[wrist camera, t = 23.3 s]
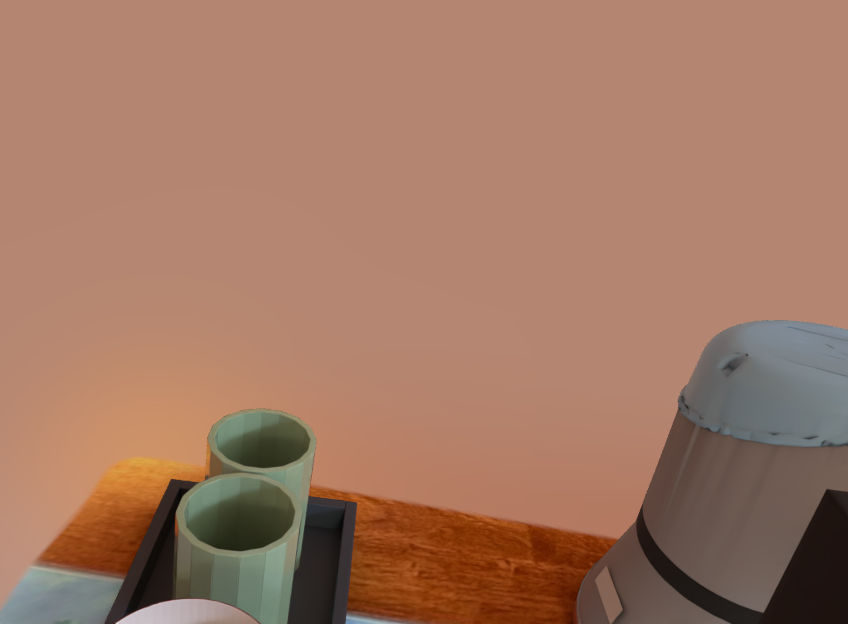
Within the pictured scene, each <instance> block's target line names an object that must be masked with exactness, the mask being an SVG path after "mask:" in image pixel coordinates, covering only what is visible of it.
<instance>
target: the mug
mask: <svg viewBox="0 0 848 624" xmlns="http://www.w3.org/2000/svg"><path fill="white" fill-rule="evenodd" d="M114 624H261V623H259V622H258V621H257V620H256V619H255V618H254V617H252V616H251V615H249V614H248V613H246V612H245V611H243V610H241V609H239V608H237V607H235V606H233V605H230V604H227V603H224V602H220V601H216V600H211V599H203V598H180V599H172V600H167V601H162V602H158V603H154V604H151V605H148V606H145V607H143V608H140V609H138V610H136V611H134V612H132V613H130V614H128V615H126V616H124V617H123V618H121V619H119V620H118V621H116V622H115V623H114Z"/></svg>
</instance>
